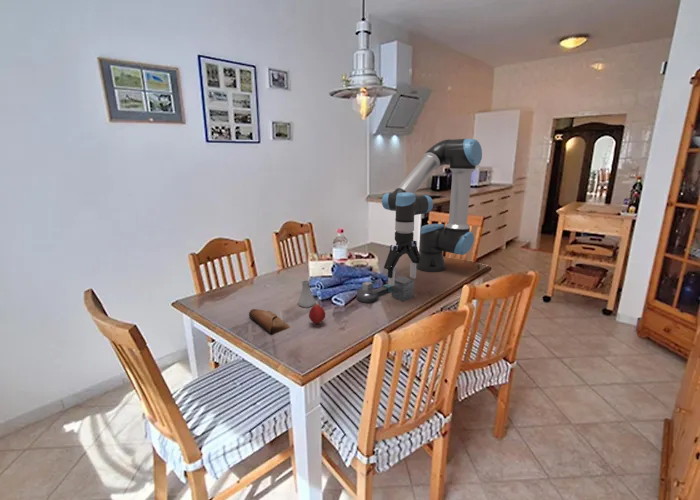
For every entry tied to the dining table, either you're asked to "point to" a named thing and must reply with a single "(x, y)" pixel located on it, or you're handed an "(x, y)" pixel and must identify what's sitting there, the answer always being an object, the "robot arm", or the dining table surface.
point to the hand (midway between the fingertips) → (402, 281)
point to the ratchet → (371, 292)
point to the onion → (317, 314)
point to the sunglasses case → (268, 321)
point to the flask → (306, 295)
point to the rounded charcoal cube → (403, 288)
